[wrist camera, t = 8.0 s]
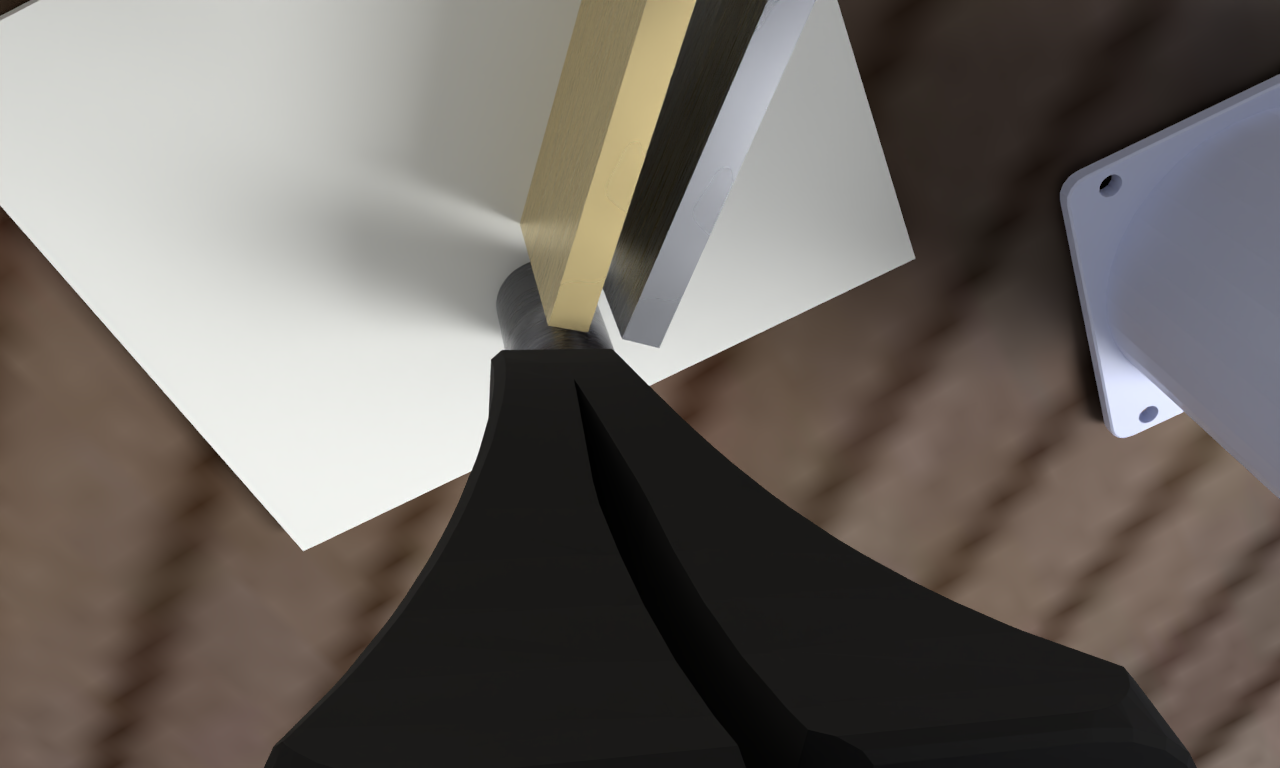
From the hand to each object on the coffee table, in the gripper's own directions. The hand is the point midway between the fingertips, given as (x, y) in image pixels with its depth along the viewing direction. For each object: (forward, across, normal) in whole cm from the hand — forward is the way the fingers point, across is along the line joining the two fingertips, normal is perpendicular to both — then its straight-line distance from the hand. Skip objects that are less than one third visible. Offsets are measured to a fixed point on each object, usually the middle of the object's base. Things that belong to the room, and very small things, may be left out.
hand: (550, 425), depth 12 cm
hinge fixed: (+10, -3, 0) cm, 10 cm away
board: (+10, 0, +1) cm, 10 cm away
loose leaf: (+10, -2, -1) cm, 10 cm away
